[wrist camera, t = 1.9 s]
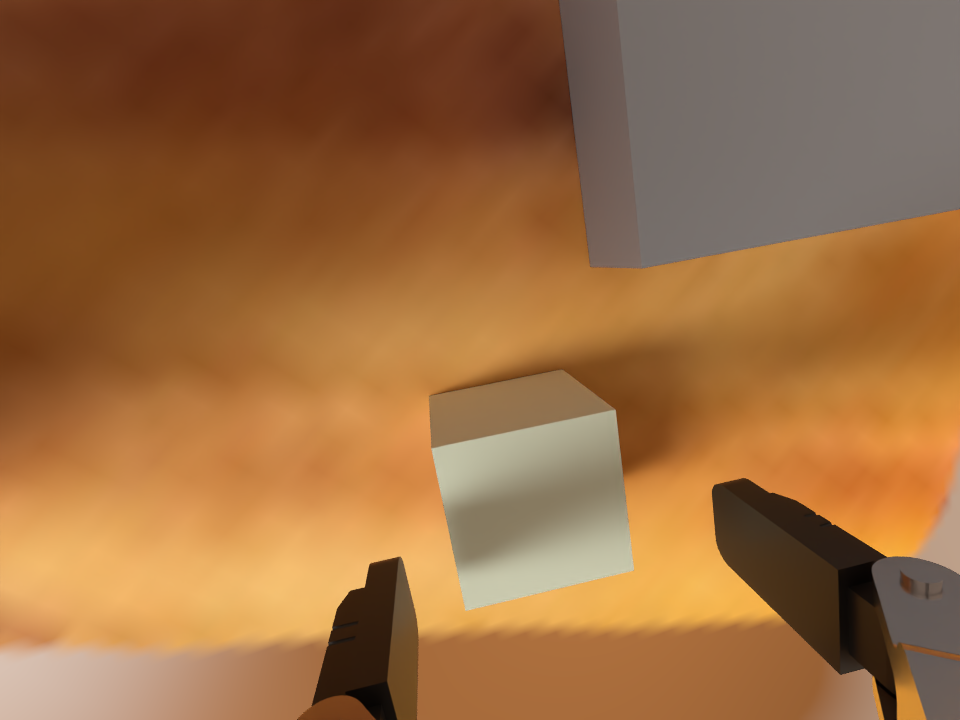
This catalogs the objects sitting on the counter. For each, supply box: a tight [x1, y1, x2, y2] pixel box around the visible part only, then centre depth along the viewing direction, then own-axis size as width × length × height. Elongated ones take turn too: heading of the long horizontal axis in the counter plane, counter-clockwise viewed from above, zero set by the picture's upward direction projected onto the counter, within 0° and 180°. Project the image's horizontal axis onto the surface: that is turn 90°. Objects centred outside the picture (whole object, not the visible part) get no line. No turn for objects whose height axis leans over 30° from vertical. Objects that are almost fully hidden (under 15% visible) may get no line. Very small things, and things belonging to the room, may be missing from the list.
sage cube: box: [429, 369, 634, 611], centre depth 15 cm, size 5×5×5 cm
